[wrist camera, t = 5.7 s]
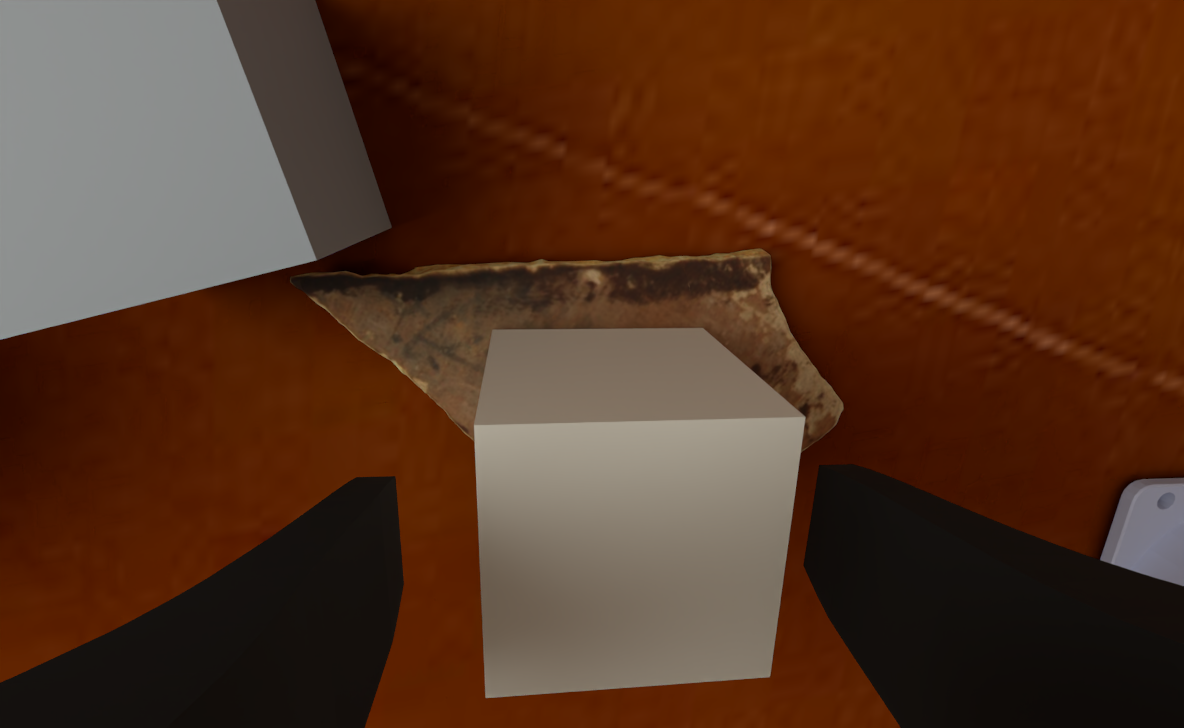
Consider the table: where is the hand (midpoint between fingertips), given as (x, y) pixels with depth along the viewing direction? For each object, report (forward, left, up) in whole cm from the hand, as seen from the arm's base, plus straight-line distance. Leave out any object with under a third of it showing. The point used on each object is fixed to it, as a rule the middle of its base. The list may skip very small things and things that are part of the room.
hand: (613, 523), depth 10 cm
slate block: (+7, -6, -5) cm, 10 cm away
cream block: (0, 0, -3) cm, 4 cm away
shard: (0, 0, -6) cm, 6 cm away
